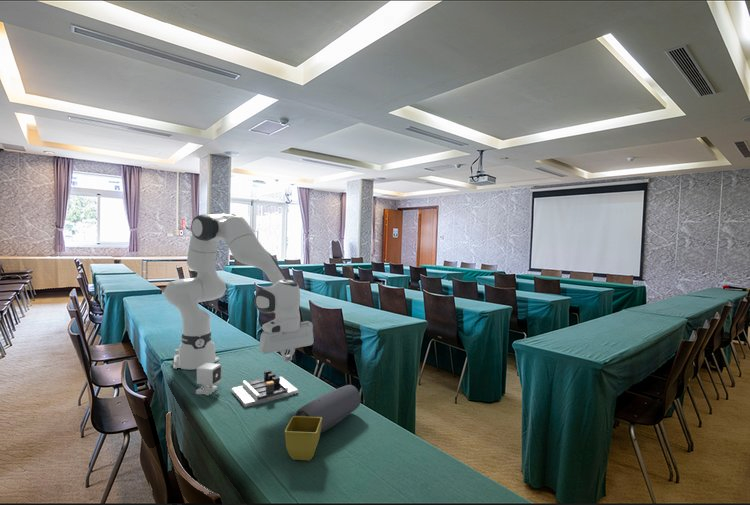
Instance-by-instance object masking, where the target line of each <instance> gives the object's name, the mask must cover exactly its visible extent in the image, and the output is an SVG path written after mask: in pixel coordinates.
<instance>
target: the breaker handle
mask: <svg viewBox="0 0 750 505" xmlns="http://www.w3.org/2000/svg"><path fill="white" fill-rule="evenodd" d="M272 392H274V382H273V381H269V382H266V393H272Z"/></svg>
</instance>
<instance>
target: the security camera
mask: <svg viewBox="0 0 750 505" xmlns="http://www.w3.org/2000/svg"><path fill="white" fill-rule="evenodd" d="M222 369H223V367H222V363H221V364H220V363H205V364H203V365H201V366H200V367H198V368H197V369H196V384H197V385H202V386H200V387H199V388H197V389H196V390H195V394H196V395H202V394H206V395H205V396H210V395H211V394H212V392H213V393H215V392H216V391H217V390H218V386H217V384H218V383H220V382H221V381H222V378H223V377H222V376H223V372H222V371H223V370H222ZM203 388H204V390H203ZM215 390H216V391H215ZM210 393H211V394H210ZM209 394H210V395H209Z"/></svg>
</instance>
